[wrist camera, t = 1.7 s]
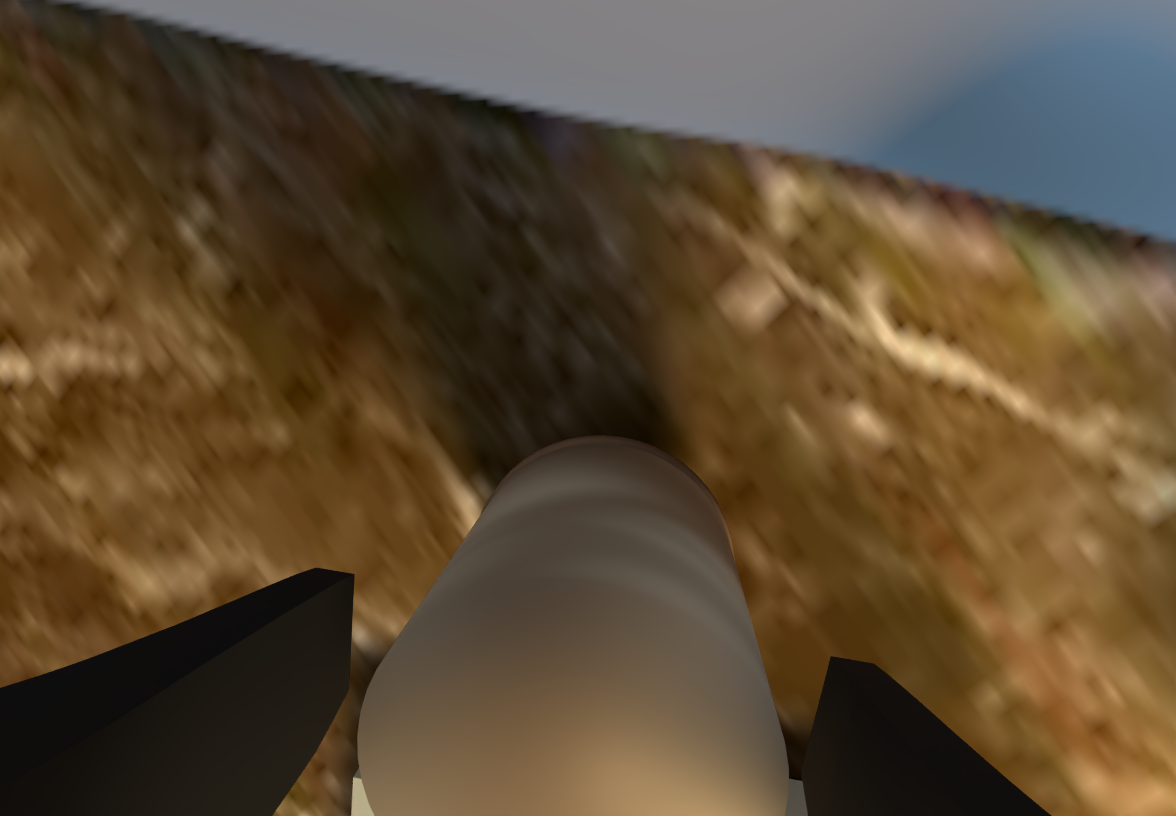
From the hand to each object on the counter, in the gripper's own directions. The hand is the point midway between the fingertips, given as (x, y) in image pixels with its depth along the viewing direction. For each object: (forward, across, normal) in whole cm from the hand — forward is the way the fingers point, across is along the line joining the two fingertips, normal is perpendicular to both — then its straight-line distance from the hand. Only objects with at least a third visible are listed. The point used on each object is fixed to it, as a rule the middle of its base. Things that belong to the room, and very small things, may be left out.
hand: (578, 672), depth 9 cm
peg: (+6, 0, 0) cm, 6 cm away
